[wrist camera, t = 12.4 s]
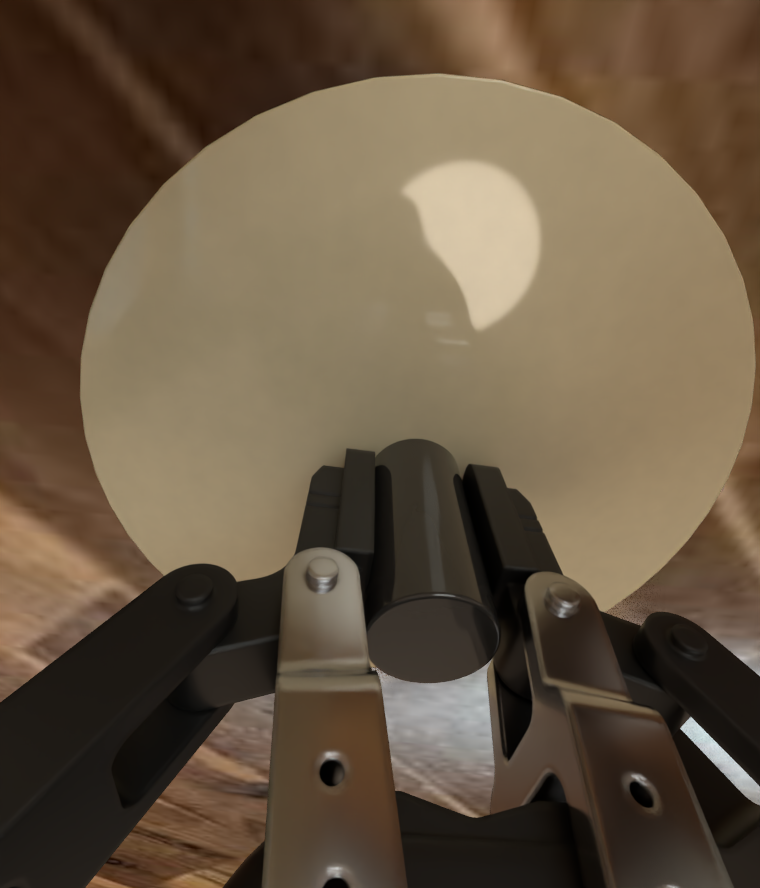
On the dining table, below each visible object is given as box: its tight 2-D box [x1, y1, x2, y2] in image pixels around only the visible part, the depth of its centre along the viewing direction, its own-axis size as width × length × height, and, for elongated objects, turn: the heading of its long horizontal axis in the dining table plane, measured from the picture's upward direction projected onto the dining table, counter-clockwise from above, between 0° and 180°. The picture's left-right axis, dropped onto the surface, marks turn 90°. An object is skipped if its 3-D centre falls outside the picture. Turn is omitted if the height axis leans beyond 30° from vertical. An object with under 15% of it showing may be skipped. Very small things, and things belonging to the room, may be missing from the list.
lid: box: [80, 73, 756, 683], centre depth 11 cm, size 17×17×6 cm
